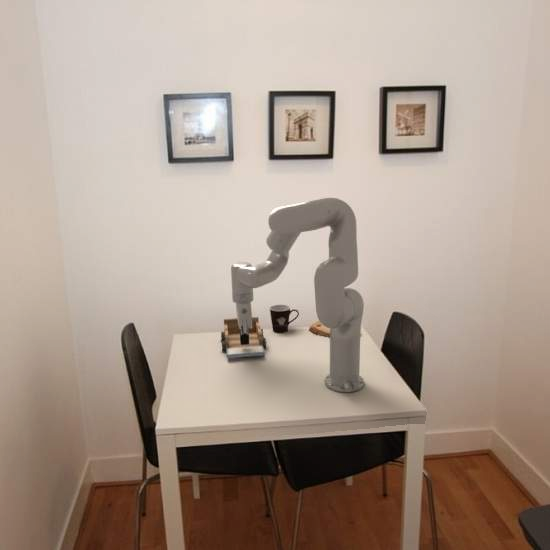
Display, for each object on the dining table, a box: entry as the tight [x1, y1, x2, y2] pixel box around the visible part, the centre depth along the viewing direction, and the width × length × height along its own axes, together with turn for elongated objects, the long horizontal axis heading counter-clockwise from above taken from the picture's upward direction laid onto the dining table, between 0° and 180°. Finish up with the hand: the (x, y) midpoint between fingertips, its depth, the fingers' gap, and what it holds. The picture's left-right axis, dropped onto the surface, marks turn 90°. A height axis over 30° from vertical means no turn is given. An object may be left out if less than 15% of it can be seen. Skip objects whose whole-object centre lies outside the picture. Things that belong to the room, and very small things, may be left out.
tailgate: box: [226, 346, 266, 359], centre depth 174 cm, size 1×14×6 cm
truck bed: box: [220, 316, 267, 354], centre depth 185 cm, size 16×17×8 cm
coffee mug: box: [269, 304, 300, 334], centre depth 198 cm, size 12×9×10 cm
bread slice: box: [308, 320, 361, 339], centre depth 196 cm, size 18×18×4 cm
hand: (244, 343), depth 174 cm, fingers closed
